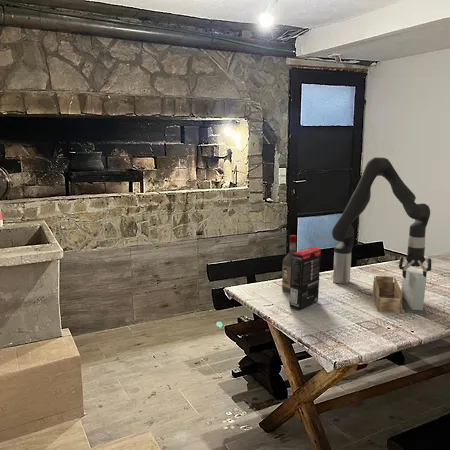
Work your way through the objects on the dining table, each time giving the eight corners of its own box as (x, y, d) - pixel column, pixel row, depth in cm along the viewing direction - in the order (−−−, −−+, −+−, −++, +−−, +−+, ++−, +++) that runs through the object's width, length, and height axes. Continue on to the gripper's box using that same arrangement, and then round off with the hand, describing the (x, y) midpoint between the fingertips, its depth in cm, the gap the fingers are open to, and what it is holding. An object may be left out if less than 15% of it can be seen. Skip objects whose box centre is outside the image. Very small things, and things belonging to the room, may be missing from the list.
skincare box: (424, 311, 210) (426, 278, 207) (412, 310, 210) (414, 277, 208) (411, 295, 230) (413, 265, 228) (400, 295, 231) (402, 265, 228)
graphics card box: (307, 298, 229) (309, 246, 224) (319, 301, 225) (321, 248, 220) (288, 307, 217) (290, 252, 212) (301, 311, 212) (302, 254, 207)
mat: (406, 312, 209) (406, 311, 209) (398, 295, 233) (398, 294, 233) (427, 314, 207) (427, 313, 207) (417, 296, 231) (417, 295, 231)
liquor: (292, 286, 248) (293, 233, 242) (304, 291, 240) (305, 236, 235) (279, 289, 243) (280, 235, 238) (291, 294, 235) (292, 238, 230)
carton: (377, 311, 211) (378, 291, 210) (372, 292, 237) (373, 275, 235) (401, 313, 209) (402, 293, 207) (394, 294, 235) (395, 276, 233)
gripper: (401, 246, 213) (399, 279, 216) (434, 248, 210) (431, 281, 213) (399, 243, 220) (397, 275, 223) (430, 244, 217) (428, 277, 220)
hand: (414, 278), depth 218 cm, fingers open, 8 cm apart
